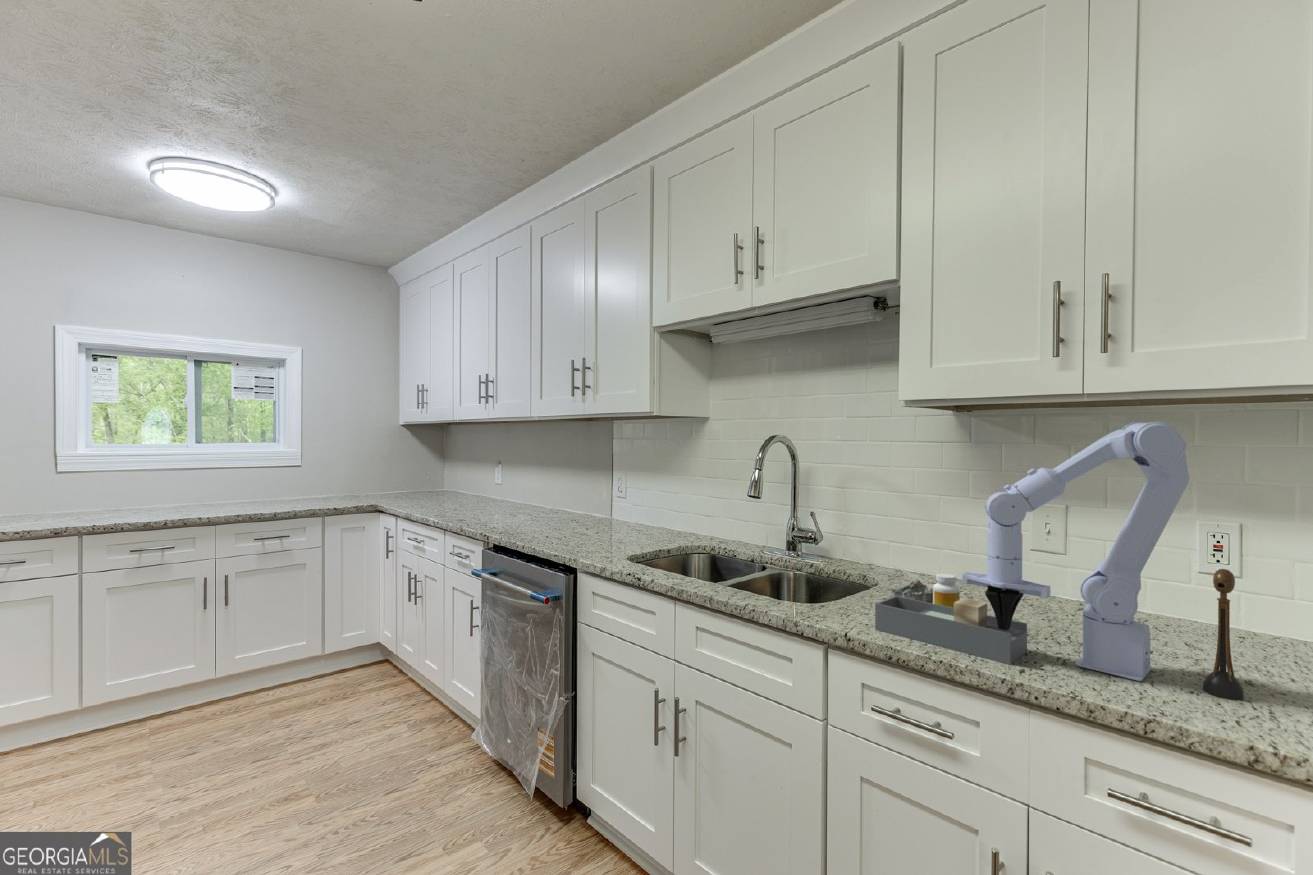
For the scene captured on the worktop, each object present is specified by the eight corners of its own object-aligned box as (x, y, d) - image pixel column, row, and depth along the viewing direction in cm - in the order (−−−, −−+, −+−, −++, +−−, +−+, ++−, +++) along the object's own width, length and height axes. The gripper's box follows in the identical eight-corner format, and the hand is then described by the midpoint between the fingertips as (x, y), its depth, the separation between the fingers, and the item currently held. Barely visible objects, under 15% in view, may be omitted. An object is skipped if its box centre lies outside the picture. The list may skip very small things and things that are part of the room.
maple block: (987, 625, 118) (987, 603, 118) (978, 631, 115) (978, 607, 115) (963, 620, 121) (963, 598, 121) (953, 625, 118) (953, 602, 118)
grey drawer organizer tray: (1027, 652, 115) (1027, 623, 115) (1010, 664, 109) (1010, 634, 109) (895, 620, 134) (895, 595, 134) (875, 629, 128) (875, 603, 128)
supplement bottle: (962, 623, 132) (962, 578, 132) (936, 621, 133) (936, 577, 133) (955, 615, 137) (955, 573, 137) (930, 614, 138) (930, 572, 138)
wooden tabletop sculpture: (1240, 704, 93) (1240, 574, 92) (1199, 694, 96) (1200, 569, 96) (1245, 693, 96) (1245, 569, 96) (1206, 684, 100) (1206, 564, 100)
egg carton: (920, 595, 155) (920, 579, 155) (943, 603, 148) (943, 586, 148) (886, 599, 152) (886, 582, 152) (907, 607, 145) (907, 590, 145)
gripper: (955, 553, 116) (955, 623, 116) (1041, 566, 105) (1041, 643, 105) (970, 548, 121) (970, 616, 121) (1054, 560, 110) (1053, 634, 110)
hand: (1004, 628), depth 114 cm, fingers closed
